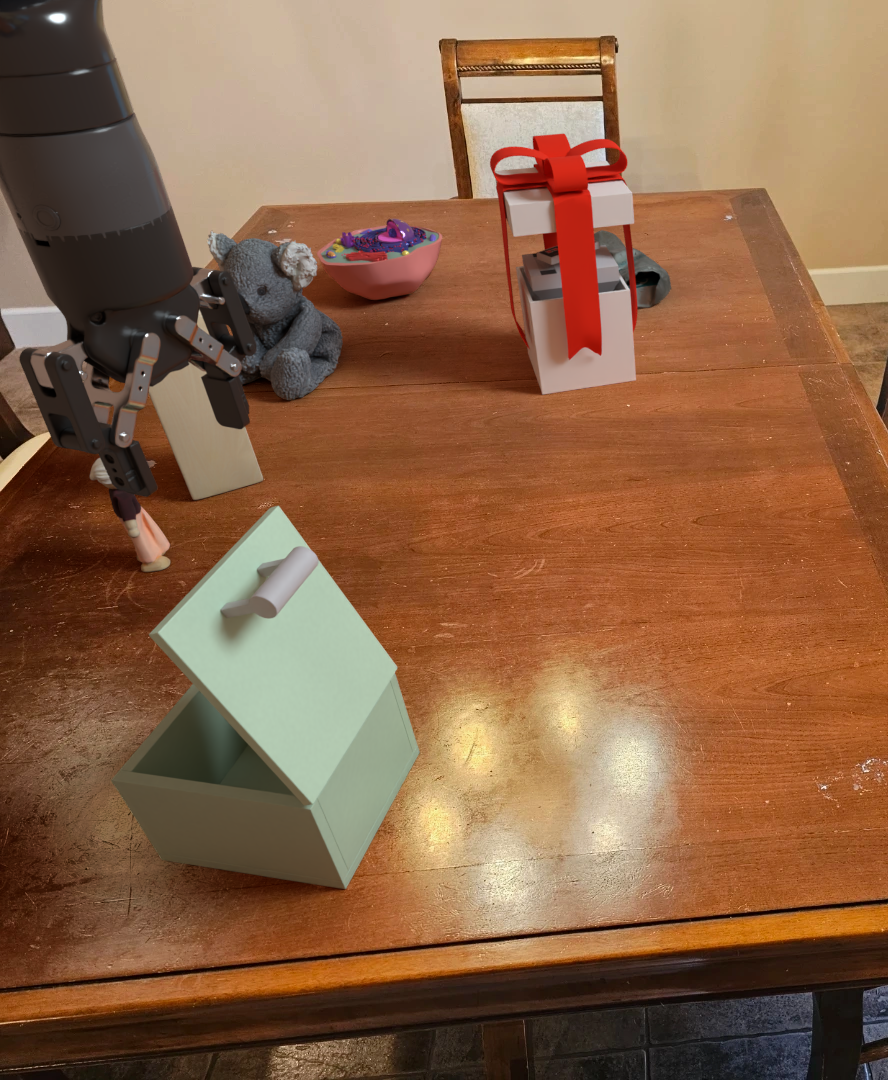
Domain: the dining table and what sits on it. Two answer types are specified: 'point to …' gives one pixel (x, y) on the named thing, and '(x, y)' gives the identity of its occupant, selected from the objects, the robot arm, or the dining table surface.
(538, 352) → the white gift box
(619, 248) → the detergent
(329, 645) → the lid
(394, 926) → the dining table surface
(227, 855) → the compartment
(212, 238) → the koala plush
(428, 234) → the cell model
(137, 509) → the grandmother figurine
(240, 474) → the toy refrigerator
